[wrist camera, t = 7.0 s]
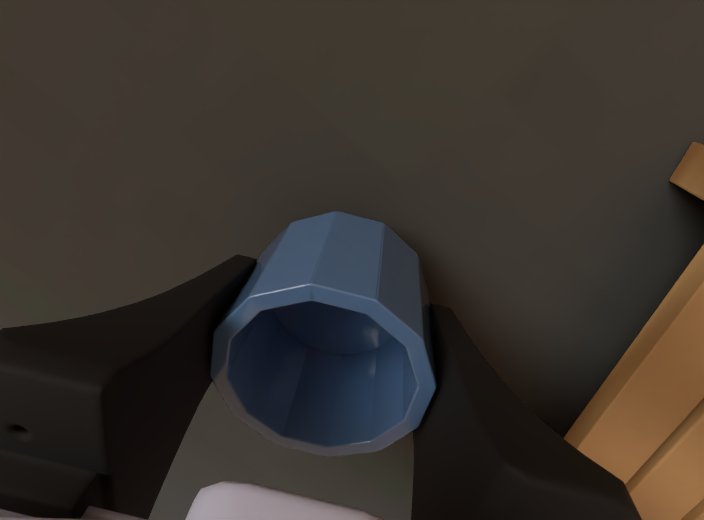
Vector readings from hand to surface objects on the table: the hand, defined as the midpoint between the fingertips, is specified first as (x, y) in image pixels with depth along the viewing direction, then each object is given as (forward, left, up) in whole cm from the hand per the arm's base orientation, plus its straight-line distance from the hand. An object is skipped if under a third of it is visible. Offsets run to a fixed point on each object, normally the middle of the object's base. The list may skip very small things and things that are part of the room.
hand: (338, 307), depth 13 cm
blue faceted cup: (0, 0, -1) cm, 1 cm away
